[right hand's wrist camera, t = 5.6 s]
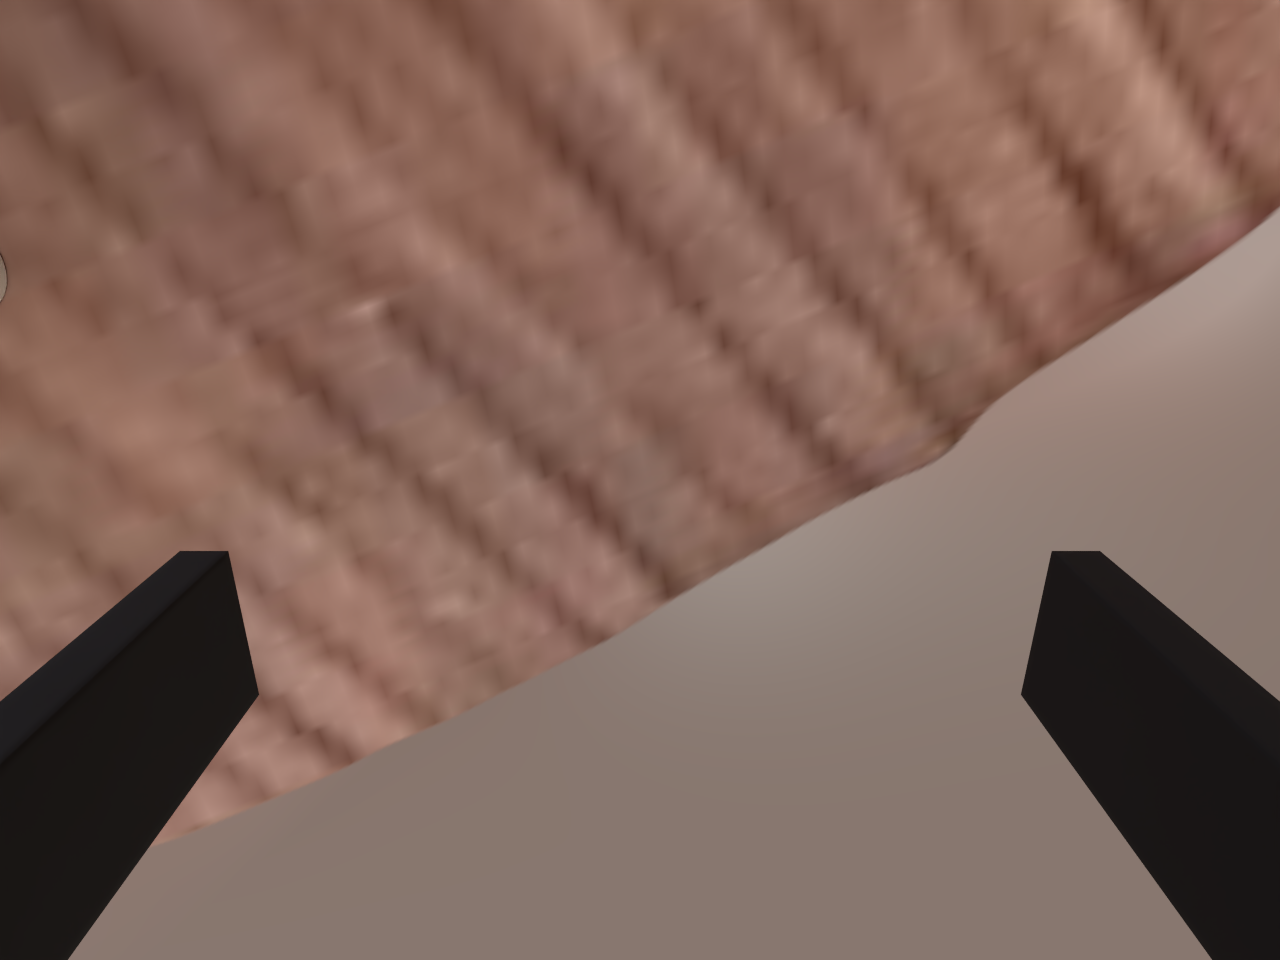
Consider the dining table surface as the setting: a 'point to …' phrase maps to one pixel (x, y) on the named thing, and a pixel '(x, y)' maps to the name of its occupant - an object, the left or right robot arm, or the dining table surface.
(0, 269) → the bottle
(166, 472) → the dining table surface
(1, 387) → the dining table surface
